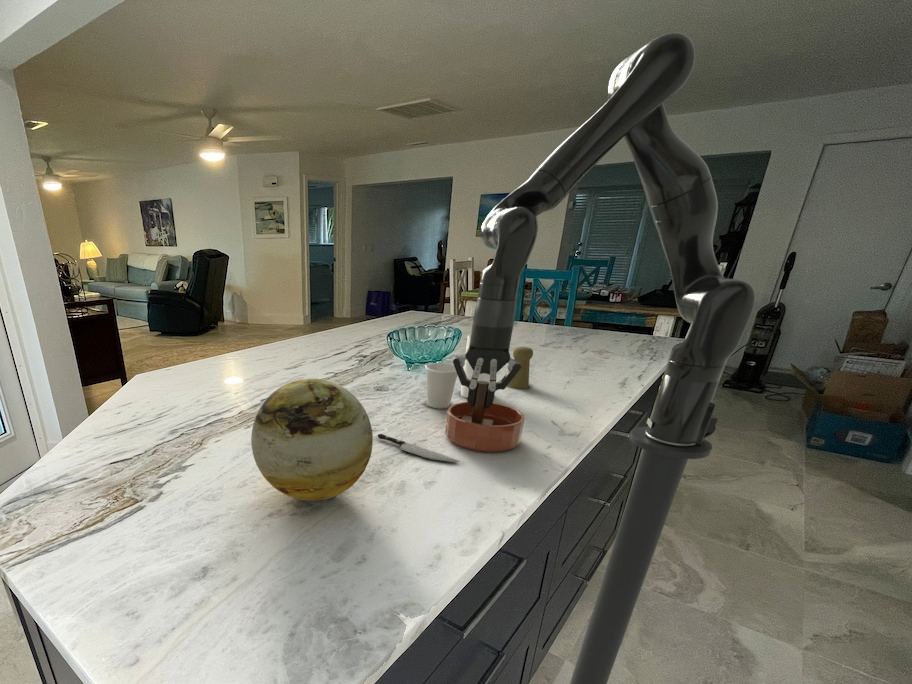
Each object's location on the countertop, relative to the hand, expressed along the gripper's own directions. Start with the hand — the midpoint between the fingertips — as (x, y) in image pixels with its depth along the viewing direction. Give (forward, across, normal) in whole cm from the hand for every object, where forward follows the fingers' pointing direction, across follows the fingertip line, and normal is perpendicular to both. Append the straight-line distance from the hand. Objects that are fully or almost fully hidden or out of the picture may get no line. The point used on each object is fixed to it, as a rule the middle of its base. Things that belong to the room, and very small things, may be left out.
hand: (479, 405), depth 98 cm
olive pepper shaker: (+7, +10, +44) cm, 46 cm away
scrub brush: (+6, 0, 0) cm, 6 cm away
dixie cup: (+8, -10, +20) cm, 23 cm away
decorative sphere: (+8, -26, -33) cm, 43 cm away
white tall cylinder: (+8, 0, +31) cm, 32 cm away
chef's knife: (+8, -12, -11) cm, 18 cm away
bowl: (+7, +2, 0) cm, 8 cm away
